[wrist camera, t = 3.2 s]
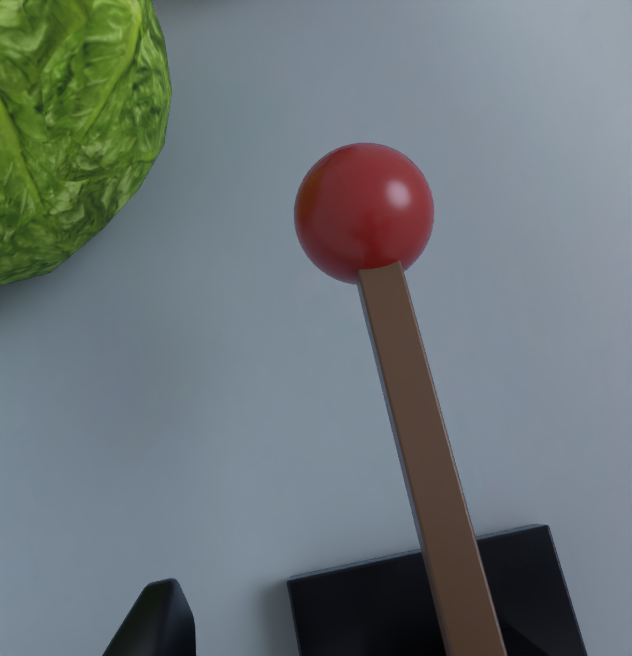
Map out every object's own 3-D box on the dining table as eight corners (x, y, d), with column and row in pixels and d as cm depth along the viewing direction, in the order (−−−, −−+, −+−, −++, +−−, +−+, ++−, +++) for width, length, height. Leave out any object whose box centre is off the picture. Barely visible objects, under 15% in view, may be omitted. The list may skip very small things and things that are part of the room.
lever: (289, 204, 18) (274, 129, 15) (408, 178, 18) (421, 98, 15) (442, 917, 13) (475, 1066, 9) (610, 881, 13) (705, 1014, 9)
